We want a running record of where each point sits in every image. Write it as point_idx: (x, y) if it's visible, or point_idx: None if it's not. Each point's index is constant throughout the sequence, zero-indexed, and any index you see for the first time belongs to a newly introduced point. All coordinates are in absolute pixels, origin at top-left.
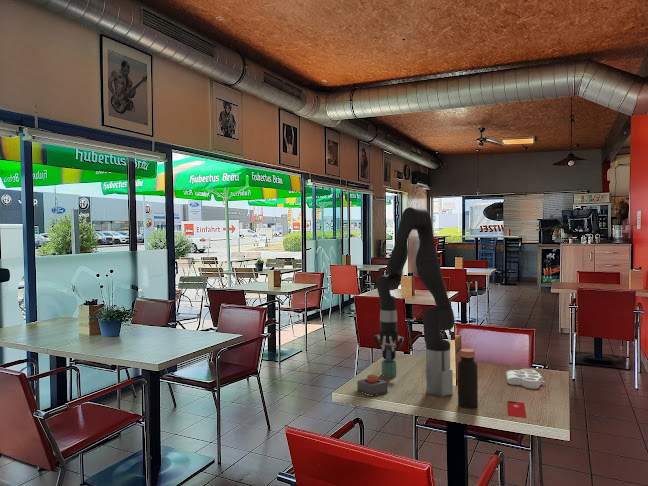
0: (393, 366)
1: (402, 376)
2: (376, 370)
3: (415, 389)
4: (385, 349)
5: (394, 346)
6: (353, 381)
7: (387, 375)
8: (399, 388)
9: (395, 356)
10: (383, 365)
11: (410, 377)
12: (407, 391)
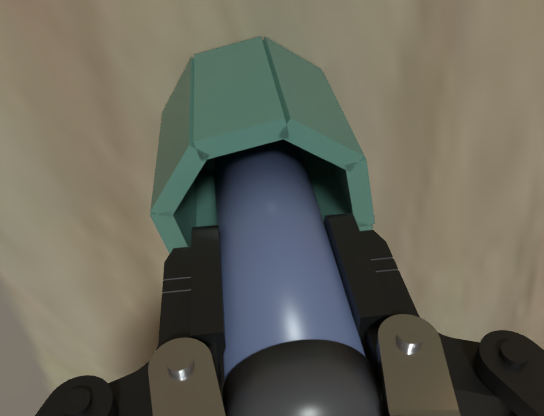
0: None
1: (399, 110)
2: (11, 3)
3: (513, 328)
4: (220, 382)
5: (432, 405)
6: (53, 371)
7: None
8: None
9: (386, 254)
10: None
11: (485, 107)
12: None
